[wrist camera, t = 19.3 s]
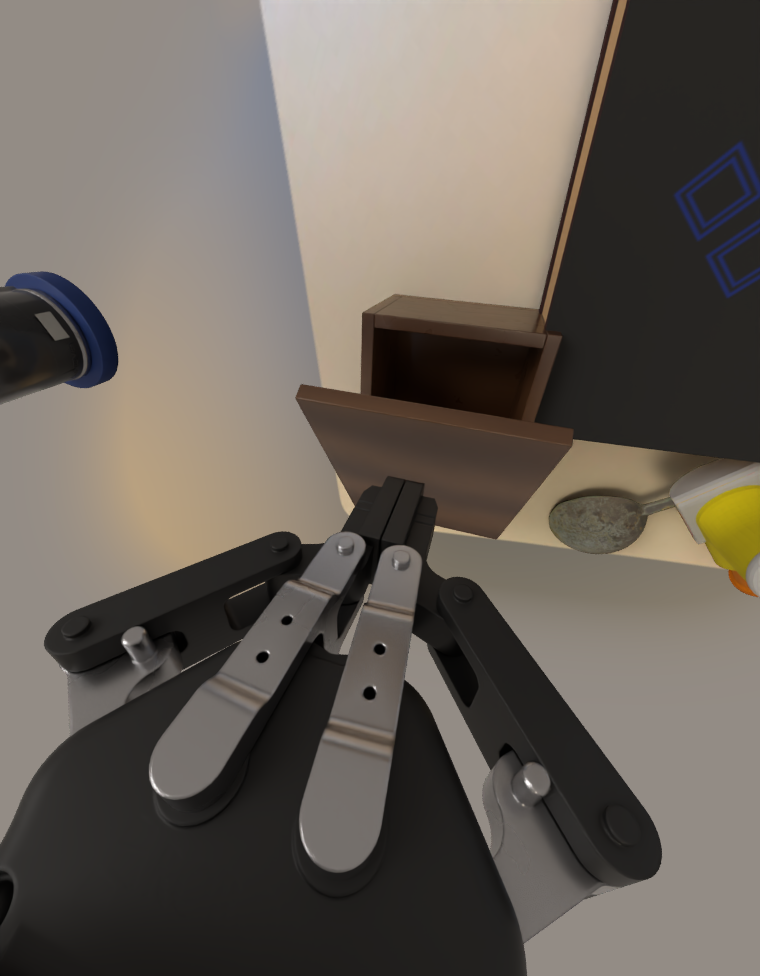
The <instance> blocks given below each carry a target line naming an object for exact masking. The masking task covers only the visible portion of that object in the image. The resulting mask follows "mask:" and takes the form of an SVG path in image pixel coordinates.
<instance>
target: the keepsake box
mask: <svg viewBox="0 0 760 976" xmlns="http://www.w3.org/2000/svg"><path fill="white" fill-rule="evenodd" d="M544 327H545V320H544V317H543V315H542V314H540V313H539V309H530V308H520V307H511V306H501V305H492V304H482V303H473V302H463V301H454V300H444V299H435V298H425V297H416V296H406V295H397V294H394V295H392V296H391V297H389V298H387V299H385V300H384V301H382V302H380V303H378V304H377V305H375V306H373V307H371V308H370V309H368V310H366V311H364V312H363V313H362V353H361V394H364V395H370V396H376V397H382V398H388V399H394V400H400V401H407V402H413V403H419V404H425V405H431V406H437V407H443V408H449V409H455V410H461V411H467V412H473V413H480V414H486V415H492V416H498V417H504V418H510V419H516V420H522V421H528V422H534V421H535V418H536V415H537V412H538V409H539V406H540V403H541V400H542V397H543V394H544V391H545V388H546V385H547V382H548V379H549V376H550V373H551V370H552V367H553V364H554V361H555V358H556V355H557V352H558V349H559V346H560V343H561V340H562V337H563V336H562V334H561V332H557V331H549V330H547V331H546V330H545V328H544ZM539 350H540V351H539ZM538 351H539V352H538Z"/></svg>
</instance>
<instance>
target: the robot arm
mask: <svg viewBox="0 0 760 976" xmlns="http://www.w3.org/2000/svg"><path fill="white" fill-rule="evenodd" d="M91 366H92V355H91V350H90V347H89V344H88V341H87V339H86V337H85V335H84V333H83V331H82V329H81V328H80V326H79V325H78V323H77V322H76V320H75V319H74V318H73V316H72V315H71V314H70V313H69V312H68V311H67V310H66V309H65V308H64V307H63V306H62V305H61V304H60V303H59V302H58V301H57V300H55V299H54V298H53V297H51V296H50V295H48V294H46V293H45V292H43V291H40V290H38V289H34V288H22V289H17V288H15V287H14V286H6V287H0V404H3V403H6V402H9V401H12V400H15V399H18V398H20V397H23V396H26V395H29V394H32V393H35V392H38V391H41V390H44V389H47V388H50V387H53V386H55V385H58V384H61V383H64V382H67V381H70V380H76V379H79V378H82V377H84V376H86V375H87V374H88V373H89V372H90V369H91ZM424 487H425V483H420V482H415V481H411V480H405V479H401V478H396V477H391V476H387V478H386V479H385V481H384V483H383V485H382V487H378V486H374V485H372V486H371V487H369V488H368V489H366V490H365V491H363V493H362V495H361V497H360V498H359V501H358V502H357V504H356V505H355V508H354V509H353V511H352V513H351V514H350V516H349V518H348V520H347V521H346V523H345V525H344V527H343V529H342V531H341V532H339V533H336V534H333V535H332V536H330V537H329V538H328V539H327V541H326V542H325V543H322V544H301V541H300V539H299V537H297V536H296V535H295V534H293V533H290V532H276V533H273V534H270V535H267V536H265V537H262V538H259V539H257V540H255V541H252V542H249V543H247V544H244V545H242V546H239V547H236V548H234V549H231V550H229V551H226V552H224V553H221V554H218V555H216V556H214V557H211V558H209V559H206V560H203V561H201V562H198V563H195V564H193V565H191V566H188V567H185V568H183V569H180V570H178V571H175V572H172V573H170V574H168V575H165V576H162V577H160V578H157V579H154V580H152V581H149V582H147V583H144V584H142V585H139V586H137V587H134V588H131V589H129V590H126V591H124V592H121V593H119V594H116V595H113V596H111V597H108V598H106V599H103V600H101V601H98V602H96V603H93V604H90V605H88V606H86V607H83V608H80V609H78V610H75V611H73V612H71V613H69V614H67V615H66V616H64V617H63V618H61V619H60V620H59V621H57V622H56V623H55V624H54V625H53V626H52V627H51V629H50V630H49V631H48V633H47V635H46V637H45V640H44V646H45V649H46V650H47V651H48V653H49V654H50V655H51V656H52V657H53V658H54V659H55V660H56V661H57V662H58V663H59V666H60V668H61V669H62V670H63V671H64V673H66V675H67V676H68V701H69V728H70V737H69V738H68V739H67V740H65V741H64V742H63V743H62V744H61V745H60V746H59V747H58V748H57V749H56V750H55V751H54V752H53V753H52V754H51V755H50V756H49V757H48V758H47V759H46V761H45V762H44V763H43V764H42V765H41V767H40V768H39V769H38V771H37V773H36V774H35V775H34V777H33V778H32V780H31V782H30V784H29V785H28V787H27V789H26V791H25V793H24V795H23V797H22V800H21V802H20V804H19V807H18V809H17V811H16V814H15V816H14V819H13V821H12V823H11V825H10V827H9V829H8V831H7V833H6V835H5V837H4V839H3V840H2V842H1V844H0V976H527V970H526V958H525V951H524V945H523V944H524V943H525V942H527V941H528V940H529V939H531V938H532V937H534V936H535V935H536V934H538V933H539V932H540V931H541V930H543V929H544V928H546V927H547V926H548V925H550V924H551V923H553V922H554V921H555V920H557V919H558V918H559V917H561V916H562V915H563V914H565V913H566V912H568V911H569V910H570V909H572V908H573V907H574V906H576V905H577V904H578V903H580V902H581V901H582V900H584V899H587V898H590V897H593V896H597V895H600V894H603V893H606V892H609V891H612V890H615V889H618V888H621V887H624V886H627V885H631V884H633V883H637V882H640V881H643V880H646V879H649V878H651V877H652V876H654V875H655V874H656V872H657V871H658V870H659V867H660V864H661V859H662V848H661V843H660V839H659V835H658V832H657V830H656V828H655V825H654V823H653V821H652V820H651V818H650V816H649V814H648V813H647V811H646V810H645V809H644V807H643V806H642V805H641V803H640V802H639V800H638V799H637V798H636V796H635V795H634V794H633V792H632V791H631V790H630V788H629V787H628V786H627V784H626V783H625V782H624V780H623V779H622V777H621V776H620V775H619V773H618V772H617V771H616V769H615V768H614V767H613V765H612V764H611V763H610V761H609V760H608V759H607V757H606V756H605V755H604V754H603V752H602V750H601V749H600V748H599V746H598V745H597V744H596V743H595V741H594V740H593V738H592V737H591V736H590V734H589V733H588V732H587V730H586V729H585V728H584V726H583V725H582V724H581V722H580V721H579V719H578V718H577V717H576V716H575V714H574V713H573V712H572V710H571V709H570V707H569V706H568V705H567V703H566V702H565V701H564V700H563V698H562V697H561V695H560V694H559V692H558V691H557V690H556V688H555V687H554V686H553V684H552V683H551V682H550V680H549V679H548V678H547V676H546V675H545V674H544V672H543V671H542V670H541V668H540V667H539V666H538V664H537V663H536V662H535V660H534V659H533V658H532V656H531V655H530V653H529V652H528V651H527V650H526V648H525V647H524V645H523V644H522V643H521V641H520V640H519V639H518V637H517V636H516V635H515V633H514V632H513V631H512V629H511V628H510V626H509V625H508V624H507V622H506V621H505V620H504V618H503V617H502V616H501V614H500V613H499V612H498V610H497V609H496V608H495V606H494V605H493V604H492V602H491V601H490V599H489V598H488V597H487V595H486V594H485V593H484V591H483V590H482V589H481V588H480V586H479V585H477V584H476V583H475V582H473V581H472V580H470V579H467V578H463V577H452V578H449V579H447V580H446V579H444V578H442V577H440V576H439V575H437V574H436V573H434V572H433V571H432V570H431V569H430V567H429V566H428V564H427V561H426V560H427V556H428V552H429V549H430V544H431V541H432V537H433V532H434V527H435V521H436V516H437V511H438V506H437V503H436V501H435V499H434V498H430V497H425V496H423V494H424ZM263 582H265V583H264V584H262V585H260V586H257V587H255V588H253V589H251V590H249V591H247V592H244V593H242V594H240V595H238V596H236V597H233V598H231V599H229V598H230V597H232V596H234V595H236V594H238V593H241V592H243V591H245V590H247V589H249V588H252V587H254V586H256V585H258V584H260V583H263ZM368 584H372V587H371V591H370V594H369V598H368V601H367V603H364V605H363V608H362V611H361V614H360V617H359V621H358V624H357V627H356V631H355V634H354V637H353V641H352V644H351V648H350V651H349V654H348V655H341V654H339V651H340V648H341V645H342V643H343V641H344V639H345V637H346V635H347V633H348V631H349V629H350V627H351V625H352V623H353V621H354V619H355V617H356V615H357V613H358V611H359V609H360V607H361V605H362V603H363V600H364V594H365V592H366V589H367V587H368ZM228 599H229V600H228ZM412 633H413V634H414V635H416V636H417V637H419V638H420V639H422V640H423V641H425V642H426V643H427V646H428V650H429V652H430V654H431V656H432V658H433V660H434V662H435V664H436V666H437V668H438V670H439V671H440V673H441V675H442V677H443V679H444V681H445V683H446V685H447V687H448V689H449V691H450V693H451V694H452V697H453V698H454V700H455V702H456V704H457V706H458V708H459V710H460V712H461V714H462V716H463V718H464V720H465V722H466V724H467V725H468V727H469V729H470V731H471V733H472V735H473V737H474V739H475V741H476V743H477V745H478V747H479V749H480V751H481V752H482V754H483V756H484V758H485V760H486V762H487V764H488V766H489V768H490V770H491V771H490V773H489V774H488V776H487V777H486V779H485V782H484V785H483V794H482V796H483V804H484V808H485V811H486V814H487V817H488V820H489V823H490V828H491V849H490V850H489V848H488V845H487V843H486V841H485V838H484V836H483V833H482V831H481V829H480V826H479V824H478V822H477V819H476V817H475V815H474V812H473V810H472V807H471V805H470V803H469V801H468V798H467V796H466V793H465V791H464V789H463V786H462V784H461V782H460V779H459V777H458V774H457V772H456V770H455V767H454V765H453V762H452V760H451V758H450V755H449V753H448V751H447V748H446V746H445V744H444V741H443V739H442V736H441V734H440V732H439V730H438V727H437V725H436V722H435V720H434V718H433V715H432V713H431V711H430V709H429V707H428V706H427V704H426V702H425V701H424V700H423V698H422V697H421V695H420V694H419V693H418V692H417V691H416V690H415V689H414V687H412V686H411V685H410V684H409V683H408V682H407V681H405V680H404V678H405V672H406V666H407V659H408V653H409V647H410V640H411V634H412ZM241 639H243V640H242V641H239V640H241ZM237 641H239V642H237ZM235 642H237V643H235ZM233 643H235V644H233ZM231 644H232V645H231ZM230 645H231V646H230ZM228 646H229V647H228ZM226 647H227V648H226ZM224 648H225V649H224ZM222 649H223V650H222ZM220 650H221V651H220ZM218 651H220V652H218ZM216 652H218V653H216ZM214 653H216V654H214ZM212 654H214V655H212ZM210 655H212V656H211V657H209V658H207V659H205V660H204V661H202V662H200V663H198V664H196V665H194V666H193V667H191V668H189V669H187V670H185V671H183V672H182V673H181V670H183V669H185V668H187V667H189V666H191V665H193V664H195V663H197V662H199V661H201V660H203V659H204V658H206V657H208V656H210Z"/></svg>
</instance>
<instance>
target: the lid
mask: <svg viewBox="0 0 760 976" xmlns="http://www.w3.org/2000/svg"><path fill="white" fill-rule="evenodd" d="M296 400H297V402H298V404H299V406H300V408H301V409H302V411H303V413H304V415H305V416H306V419H307V420H308V422H309V424H310V426H311V428H312V429H313V431H314V433H315V435H316V437H317V438H318V440H319V442H320V444H321V446H322V447H323V449H324V451H325V453H326V454H327V456H328V458H329V460H330V462H331V464H332V466H333V467H334V469H335V471H336V473H337V475H338V476H339V478H340V480H341V482H342V484H343V485H344V487H345V489H346V491H347V493H348V494H349V496H350V498H351V500H352V502H353V504H354V505H356V504H357V502H358V501H359V498H360V497H361V495H362V493H363V491H365V490H366V489H368V488H369V487H371V486H372V485H374V486H378V487H382V485H383V483H384V481H385V479H386V478H387V476H391V477H396V478H401V479H405V480H411V481H415V482H420V483H425V487H424V494H423V496H425V497H430V498H434V499H435V501H436V503H437V506H438V511H437V516H436V521H435V525H436V526H440V527H444V528H449V529H453V530H457V531H462V532H466V533H470V534H475V535H479V536H484V537H488V538H492V539H497V538H498V537H499V536H500V535H501V533H502V532H503V531H504V530H505V528H506V527H507V526H508V525H509V523H510V522H511V521H512V520H513V519H514V517H515V516H516V515H517V514H518V512H519V511H520V510H521V509H522V507H523V506H524V505H525V504H526V502H527V501H528V500H529V499H530V497H531V496H532V495H533V494H534V493H535V491H536V490H537V489H538V488H539V486H540V485H541V484H542V483H543V481H544V480H545V479H546V478H547V476H548V475H549V474H550V473H551V472H552V470H553V469H554V468H555V467H556V465H557V464H558V463H559V462H560V460H561V459H562V458H563V457H564V455H565V454H566V453H567V452H568V450H569V449H570V448H571V447H572V444H573V434H574V429H571V428H565V427H559V426H553V425H547V424H540V423H534V422H528V421H522V420H516V419H510V418H504V417H498V416H492V415H486V414H480V413H473V412H467V411H461V410H455V409H449V408H443V407H437V406H431V405H425V404H419V403H413V402H407V401H400V400H394V399H388V398H382V397H376V396H370V395H364V394H358V393H352V392H346V391H340V390H334V389H327V388H321V387H315V386H309V385H303V384H302V385H300V388H299V390H298V393H297V395H296Z"/></svg>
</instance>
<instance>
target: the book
mask: <svg viewBox="0 0 760 976" xmlns="http://www.w3.org/2000/svg"><path fill="white" fill-rule="evenodd" d="M539 313H540V314H542V315H543V317H544V320H545V327H544V328H545V330H546V331H547V330H549V331H557V332H561V334H562V336H563V337H562V340H561V343H560V346H559V349H558V352H557V355H556V358H555V361H554V364H553V367H552V370H551V373H550V376H549V379H548V382H547V385H546V388H545V391H544V394H543V397H542V400H541V403H540V406H539V409H538V412H537V415H536V418H535V421H534V423H540V424H547V425H553V426H559V427H565V428H571V429H574V434H573V439H576V440H584V441H592V442H600V443H608V444H615V445H623V446H631V447H639V448H647V449H655V450H663V451H670V452H678V453H686V454H694V455H702V456H710V457H718V458H725V459H733V460H741V461H749V462H757V463H760V0H613V3H612V7H611V12H610V16H609V20H608V24H607V28H606V32H605V37H604V41H603V45H602V49H601V53H600V58H599V62H598V66H597V70H596V74H595V79H594V83H593V87H592V91H591V95H590V100H589V104H588V108H587V112H586V116H585V120H584V125H583V129H582V133H581V137H580V141H579V146H578V150H577V154H576V158H575V162H574V167H573V171H572V175H571V179H570V183H569V188H568V192H567V196H566V200H565V204H564V208H563V213H562V217H561V221H560V225H559V229H558V234H557V238H556V242H555V246H554V250H553V255H552V259H551V263H550V267H549V271H548V275H547V280H546V284H545V288H544V292H543V296H542V301H541V305H540V309H539ZM539 351H540V350H539ZM539 351H538V352H539Z"/></svg>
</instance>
